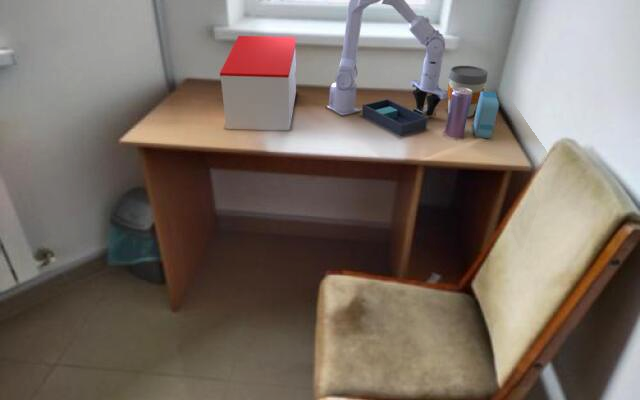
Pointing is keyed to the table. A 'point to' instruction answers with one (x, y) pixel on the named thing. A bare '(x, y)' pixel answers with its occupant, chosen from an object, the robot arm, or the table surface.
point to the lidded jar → (467, 83)
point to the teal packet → (388, 112)
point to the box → (400, 125)
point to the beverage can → (458, 112)
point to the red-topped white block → (260, 83)
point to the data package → (486, 114)
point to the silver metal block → (424, 111)
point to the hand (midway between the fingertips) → (424, 112)
